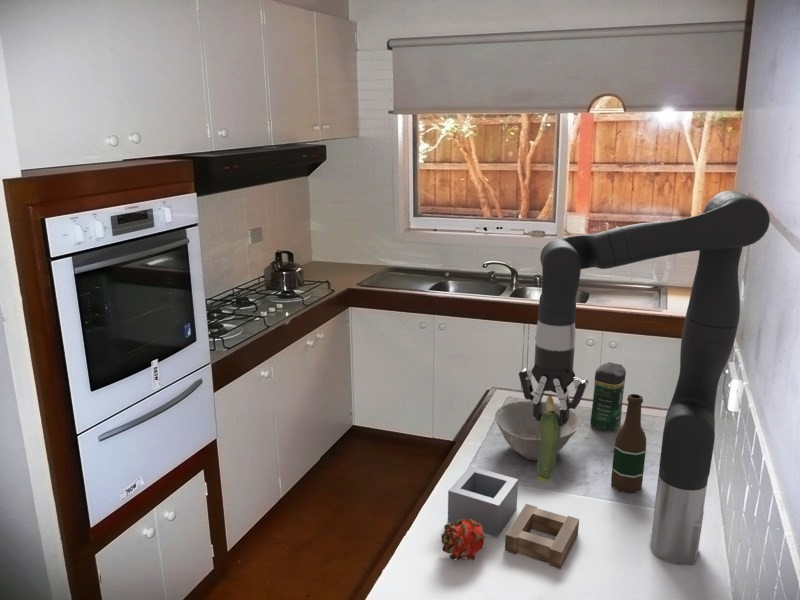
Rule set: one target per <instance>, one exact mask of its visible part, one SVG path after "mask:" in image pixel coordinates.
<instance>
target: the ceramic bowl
mask: <svg viewBox="0 0 800 600" xmlns="http://www.w3.org/2000/svg"><path fill="white" fill-rule="evenodd" d="M545 404H546V401H543V409H542V413H543V412H545V411H546V407H545ZM533 405H534V404H533V401H531V400H520V401H512V402H509V403H507V404H505V405H502V406H501V407H499V408H498V409H497V410H496V411H495V413H494V421H495V422H496V424H497V426H498V429H499V430H500V432H501V435H502V436H503V438H504V440H505V441H506V442H507V444H508V445H509V446H510V448H511V449H512V450H514V451H515V452H516V453H517V454H519V455H521V457H522V456H523V457H524V458H526V459H528V460H529V461H537V462H538V457H539V453H540V448H541V434H540V421H536V420H535V419H536V418H535V417H534V416H533ZM554 406H555V410H554V411H556V412H557V413H558V414H559V416H560V409H561V405H559V404H556V403H554ZM580 425H581V422H580V418H579V416H578V415H577V413H575V412H574V411H572V410H571V409H569V420H568V421H567V423H566V424H564V425H563V426H561V435H560V440H559V444H558V450H557V454H558V453H559V452H560V451H561V450H562V449H563V448H564V447H565V446H566V445H567V443H568V442H569V440H570V438H572V437H573V436H574V434H575V433H576V432H577V430H579V428H580Z"/></svg>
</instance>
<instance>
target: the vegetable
mask: <svg viewBox="0 0 800 600" xmlns="http://www.w3.org/2000/svg"><path fill="white" fill-rule="evenodd" d="M545 402H546V404H545V407H546V411H545V412H543V413H542V415H541V417H540V434H541V448H540V453H539V457H538V461H537V467H536V473H537V477H536V479H537V481H538V482H543V483H548V482H549V479H551V477H552V476H553V473H554V469H555V466H556V463H557V455H558V453H557V450H558V444H559V440H560V435H561V426H559V418H560V416H559V414H558V413H557V412H556V411H554V410H555V406H554V404H555V403H554V402H555V401H554V399H553V397H552V395H548V396H547V399H546V401H545Z"/></svg>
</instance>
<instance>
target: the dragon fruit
mask: <svg viewBox="0 0 800 600" xmlns="http://www.w3.org/2000/svg"><path fill="white" fill-rule="evenodd" d="M440 539H441V543H442V544H443V546H442V547H441V548H442V549H441V550H442V552H445V553H446V554H450V555H449V559H450V560H452V561H455V560H457V561H458V560H462V559H463V558H466V559H467V560H472V561H475V560H476V555H475V554H476V553H478V552H479V551H480V550H482V549H483V547H484V545H485V540H486V536H484V533H483V528H482V525H481V524H480V523H477V522H476V521H475V520H472V519H468V520H466V521H465V518H464V519H461V520H458V521H455V523H451V524H445V525H444V531H443V533H442V534H441V537H440Z"/></svg>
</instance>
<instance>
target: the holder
mask: <svg viewBox="0 0 800 600" xmlns="http://www.w3.org/2000/svg"><path fill="white" fill-rule="evenodd" d="M518 490H519V479H518V478H515V477H511V476H509V475H504V474H502V473H501V474H500V473H497V472H495V471H494V472H493V471H489V470H486V469H484V468H483V469H482V468H479V467H475V466H471V465H470V466H469V467H468V468H467V469H466V470H465V471H464V472H463V473H462V475H460V477H459V478H458V479H457V480H456V481H455V482H454V483H453V484H452V486H451V487H450V488H449V489H448V492H447V522H448V523H451V524H453V523H455V521H458V520H461V519H464V518H465V521H466V520H468V519H472V520H475V521H476V522H477V523H480V524H481V525H482V528H483V534H485V535H488V536H490V537H491V536H492V537H494V538H497V539H498V538H499V536H500V535H501V533H502V532H503V530H504V529H505V528H506V526H507V525H508V523H509V521H510V520H511V519H512V517H513V515H514V514H515V513H516V511H517V509H518V508H517V507H518V494H519V493H518Z"/></svg>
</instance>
